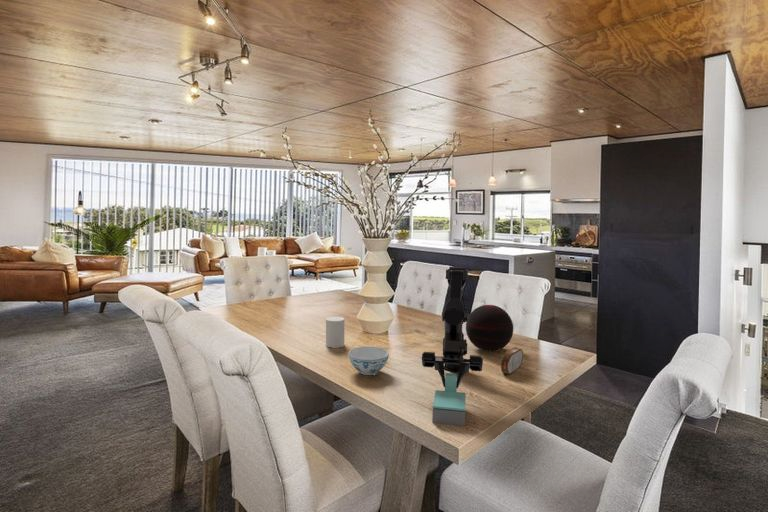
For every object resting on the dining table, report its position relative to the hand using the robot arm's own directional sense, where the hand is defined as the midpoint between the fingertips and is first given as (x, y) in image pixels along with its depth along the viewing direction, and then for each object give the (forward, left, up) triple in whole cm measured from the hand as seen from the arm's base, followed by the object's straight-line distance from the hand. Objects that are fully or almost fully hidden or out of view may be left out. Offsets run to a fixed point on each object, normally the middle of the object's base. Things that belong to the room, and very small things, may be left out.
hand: (450, 387), depth 131 cm
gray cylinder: (-72, +16, -7) cm, 74 cm away
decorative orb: (-20, +59, -7) cm, 63 cm away
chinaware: (-38, +3, -7) cm, 39 cm away
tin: (-1, +43, -7) cm, 44 cm away
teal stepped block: (+2, -4, -6) cm, 7 cm away
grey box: (+3, -5, -7) cm, 9 cm away
